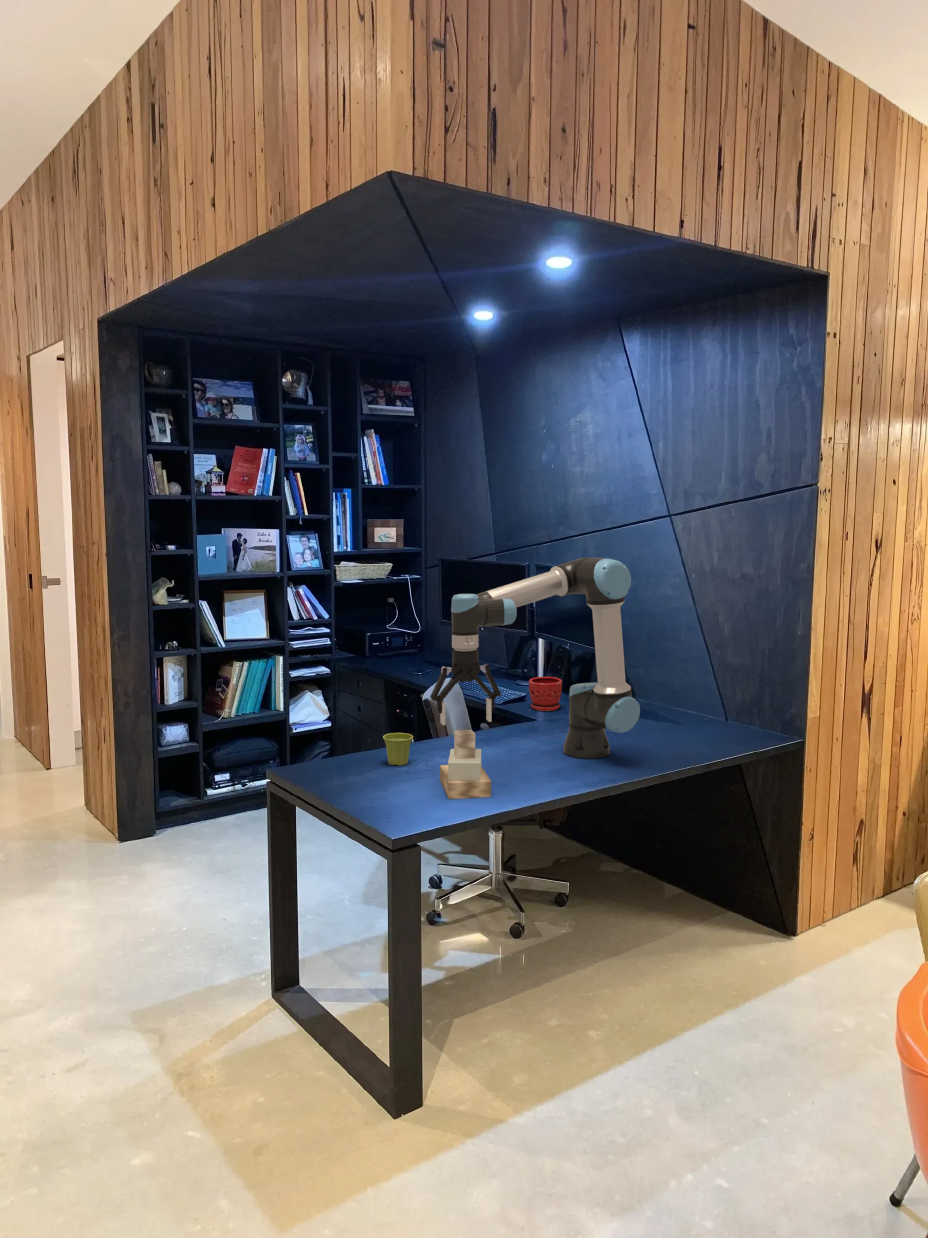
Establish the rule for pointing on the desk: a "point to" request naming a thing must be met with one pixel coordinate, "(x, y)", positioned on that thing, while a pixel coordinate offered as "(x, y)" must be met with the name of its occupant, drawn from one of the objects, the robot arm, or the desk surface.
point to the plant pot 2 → (545, 693)
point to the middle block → (464, 767)
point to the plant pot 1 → (398, 747)
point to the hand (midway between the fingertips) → (466, 722)
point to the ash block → (464, 744)
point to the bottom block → (465, 786)
